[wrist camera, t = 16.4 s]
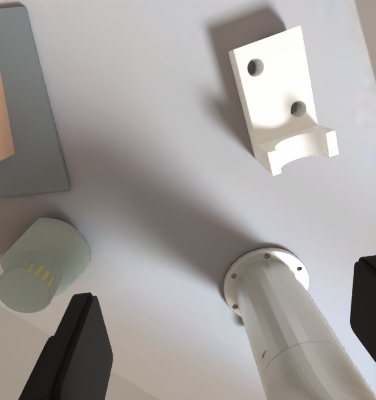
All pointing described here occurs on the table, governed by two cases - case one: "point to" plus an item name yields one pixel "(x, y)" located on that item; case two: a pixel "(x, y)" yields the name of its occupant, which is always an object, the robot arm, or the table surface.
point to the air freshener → (42, 264)
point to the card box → (5, 128)
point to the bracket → (279, 101)
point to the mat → (27, 113)
